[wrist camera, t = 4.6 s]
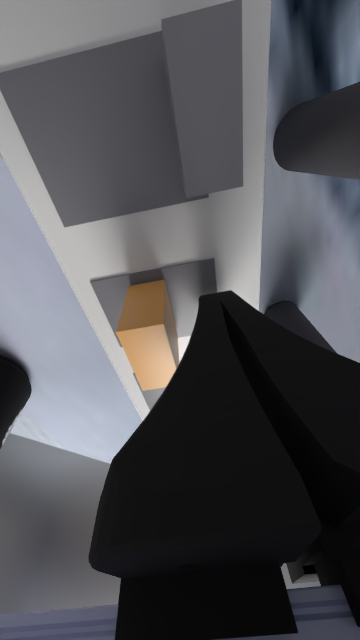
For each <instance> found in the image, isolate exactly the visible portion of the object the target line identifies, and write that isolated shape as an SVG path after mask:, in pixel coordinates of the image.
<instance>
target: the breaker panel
mask: <svg viewBox="0 0 360 640" xmlns="http://www.w3.org/2000/svg"><path fill="white" fill-rule="evenodd" d="M270 20H271V0H0V154H1V156H2V158H3V159H4V161H5V163H6V165H7V167H8V169H9V171H10V173H11V174H12V176H13V178H14V180H15V182H16V184H17V186H18V188H19V190H20V191H21V193H22V195H23V197H24V199H25V201H26V203H27V205H28V206H29V208H30V210H31V212H32V214H33V216H34V218H35V220H36V222H37V223H38V225H39V227H40V229H41V231H42V233H43V235H44V237H45V238H46V240H47V242H48V244H49V246H50V248H51V250H52V252H53V254H54V255H55V257H56V259H57V261H58V263H59V265H60V267H61V269H62V271H63V272H64V274H65V276H66V278H67V280H68V282H69V284H70V286H71V287H72V289H73V291H74V293H75V295H76V297H77V299H78V301H79V303H80V304H81V306H82V308H83V310H84V312H85V314H86V316H87V318H88V319H89V321H90V323H91V325H92V327H93V329H94V331H95V333H96V335H97V336H98V338H99V340H100V342H101V344H102V346H103V348H104V350H105V352H106V353H107V355H108V357H109V359H110V361H111V363H112V365H113V367H114V368H115V370H116V372H117V374H118V376H119V378H120V380H121V382H122V384H123V385H124V387H125V389H126V391H127V393H128V395H129V397H130V399H131V400H132V402H133V404H134V406H135V408H136V410H137V412H138V414H139V416H140V417H141V419H142V421H143V420H144V419H145V418H146V416H147V415H148V413H149V412H150V410H151V409H152V407H153V406H154V404H155V403H156V402H157V400H158V399H159V397H160V396H161V394H162V393H163V391H164V390H165V388H166V387H164V388H158V389H152V390H145V391H142V388H141V386H140V384H139V382H138V380H137V377H136V375H135V373H134V371H133V369H132V367H131V364H130V362H129V360H128V358H127V356H126V353H125V351H124V349H123V347H122V345H121V343H120V340H119V338H118V336H117V334H116V330H117V326H118V323H119V319H120V315H121V312H122V308H123V305H124V301H125V298H126V294H127V291H128V287H129V286H132V285H137V284H143V283H148V282H153V281H159V280H165V285H166V289H167V293H168V297H169V301H170V305H171V309H172V313H173V317H174V322H175V326H176V330H177V334H178V348H179V363H180V361H181V359H182V357H183V355H184V352H185V350H186V348H187V345H188V343H189V340H190V337H191V334H192V332H193V329H194V325H195V321H196V317H197V313H198V306H199V300H198V298H199V297H200V296H201V295H206V294H212V293H217V292H223V291H228V290H232V291H233V292H234V293H236V294H237V295H238V296H240V297H241V298H242V299H243V300H245V301H246V302H247V303H248V304H250V305H251V306H252V307H254V308H255V309H256V310H258V311H259V291H260V266H261V241H262V217H263V192H264V168H265V143H266V118H267V94H268V69H269V44H270Z"/></svg>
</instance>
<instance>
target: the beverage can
mask: <svg viewBox="0 0 360 640" xmlns="http://www.w3.org/2000/svg"><path fill="white" fill-rule="evenodd" d="M30 395H31V384H30V382H29V379H28V376H27V374H26V373H25V371H24V370H23V369H22V368H21V367H20V366H19V365H18V364H16V363H15V362H13V361H12V360H10V359H8V358H6V357H4V356H1V355H0V449H1V447H2V445H3V443H4V441H5V440H6V437H7V436H8V434H9V433H10V431H11V429H12V427H13V425H14V424H15V422H16V420H17V418H18V417H19V415H20V413H21V411H22V410H23V408H24V406H25V404H26V402H27V401H28V399H29V397H30Z"/></svg>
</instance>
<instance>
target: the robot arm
mask: <svg viewBox="0 0 360 640" xmlns="http://www.w3.org/2000/svg"><path fill="white" fill-rule="evenodd" d="M198 300H199V306H198V313H197V317H196V321H195V325H194V329H193V332H192V334H191V337H190V340H189V343H188V345H187V348H186V350H185V352H184V355H183V357H182V359H181V361H180V363H179V365H178V367H177V369H176V371H175V372H174V374H173V376H172V378H171V380H170V381H169V383H168V385H167V386H166V388H165V390H164V391H163V393H162V394H161V396H160V397H159V399H158V400H157V402H156V403H155V404H154V406H153V407H152V409H151V410H150V412H149V413H148V415H147V416H146V418H145V419H144V420H143V422H142V423H141V424H140V426H139V427H138V428H137V429H136V431H135V432H134V433H133V434H132V436H131V437H130V438H129V439H128V441H127V442H126V443H125V444H124V446H123V447H122V448H121V450H120V451H119V452H118V453H117V454H116V456H115V457H114V458H113V460H112V462H111V465H110V468H109V471H108V474H107V478H106V480H105V484H104V488H103V491H102V494H101V497H100V501H99V506H98V510H97V515H96V521H95V526H94V532H93V536H92V542H91V547H90V553H89V563H90V564H91V566H92V568H93V569H95V570H97V571H100V572H103V573H106V574H109V575H113V576H116V577H119V578H121V584H120V594H119V603H118V605H105V606H94V607H83V608H72V609H60V610H50V611H38V612H27V613H16V614H4V615H0V640H360V363H358V362H356V361H353V360H351V359H348V358H346V357H344V356H341V355H339V354H337V353H334V352H332V351H329V350H327V349H325V348H323V347H321V346H318V345H316V344H314V343H312V342H310V341H308V340H306V339H304V338H302V337H300V336H298V335H297V334H295V333H293V332H291V331H289V330H287V329H286V328H284V327H282V326H281V325H279V324H278V323H276V322H274V321H273V320H271V319H269V318H268V317H266V316H265V315H264V314H262V313H261V312H259V311H258V310H256V309H255V308H254V307H252V306H251V305H250V304H248V303H247V302H246V301H245V300H243V299H242V298H241V297H240V296H238V295H237V294H236V293H234V292H233V291H232V290H228V291H223V292H217V293H212V294H206V295H201V296H200V297H199V298H198ZM283 563H286V564H287V567H288V570H289V574H290V578H291V581H292V583H304V582H315V581H320V584H321V586H320V587H308V588H297V589H286V586H285V582H284V579H283V575H282V571H281V566H282V565H283Z"/></svg>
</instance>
